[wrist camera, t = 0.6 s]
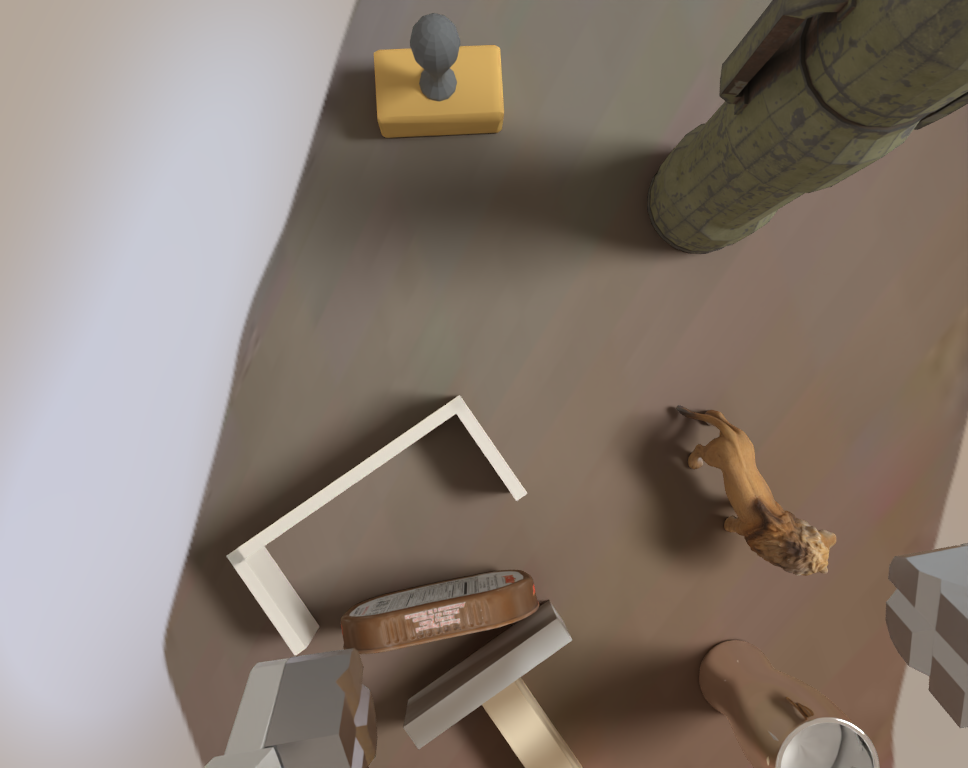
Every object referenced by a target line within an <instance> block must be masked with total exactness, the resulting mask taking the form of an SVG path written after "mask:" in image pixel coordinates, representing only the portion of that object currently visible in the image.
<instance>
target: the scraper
mask: <svg viewBox="0 0 968 768" xmlns="http://www.w3.org/2000/svg"><path fill="white" fill-rule="evenodd" d="M570 641H572V639H571V636H570V634H569V632H568V630H567V628H566V626H565V623H564V621H563V619H562V618H561V617H560V615H559V614H558V612H557V611H556V609H555V608H554V606H553V605H552V603H551V602H550V601H549V600H548V601H547V602H545V603H544V604H543V605H541V606H540V607H539V608H538V609H537V611H536V612H534V613H533V614H531V615H530V616H528V617H526V618H524V619H522V620H520V621H519V622H517V623H516V624H514V625H513V626H511V627H510V628H509V629H507V630H506V631H504V632H503V633H502V634H500V635H499V636H497V637H496V638H494V639H493V640H492V641H490V642H489V643H487V644H486V645H485V646H483V647H482V648H480V649H479V650H477V651H476V652H475V653H473V654H472V655H470V656H469V657H468V658H466V659H465V660H463V661H462V662H461V663H459V664H458V665H456V666H455V667H453V668H452V669H451V670H449V671H448V672H446V673H445V674H444V675H442V676H441V677H439V678H438V679H436V680H435V681H434V682H432V683H431V684H429V685H428V686H427V687H425V688H424V689H422V690H421V691H419V692H418V693H417V694H415V695H414V696H412V697H411V698H410V699H408V703H407V709H406V715H405V720H404V726H403V728H404V729H405V731H406V732H407V734H408V735H409V736H410V738H411V739H412V741H413V742H414V744H415V745H416V747H417V748H418V750H419V749H420V748H421V747H423V746H424V745H426V744H427V743H428V742H430V741H431V740H433V739H434V738H435V737H437V736H438V735H440V734H441V733H442V732H444V731H445V730H447V729H448V728H450V727H451V726H452V725H454V724H455V723H457V722H458V721H459V720H461V719H462V718H464V717H465V716H466V715H468V714H469V713H471V712H472V711H473V710H475V709H476V708H478V707H479V706H480V705H482V706H483V707H484V709H485V710H486V712H487V713H488V714H489V716H490V717H491V719H492V720H493V722H494V723H495V725H496V726H497V728H498V729H499V730H500V732H501V733H502V735H503V736H504V738H505V739H506V741H507V742H508V743H509V745H510V746H511V748H512V749H513V751H514V752H515V754H516V755H517V757H518V758H519V759H520V761H521V762H522V764H523V765H524V767H525V768H583V767H582V766H581V764H580V763H579V761H578V760H577V758H576V757H575V756H574V754H573V753H572V751H571V750H570V748H569V747H568V745H567V744H566V742H565V741H564V740H563V738H562V737H561V735H560V734H559V732H558V731H557V729H556V728H555V727H554V725H553V724H552V722H551V721H550V719H549V718H548V716H547V715H546V713H545V712H544V711H543V709H542V708H541V706H540V705H539V703H538V702H537V700H536V699H535V698H534V696H533V695H532V693H531V692H530V690H529V689H528V687H527V686H526V684H525V683H524V682H523V680H522V679H521V676H523V675H524V674H525V673H527V672H528V671H530V670H531V669H532V668H534V667H535V666H537V665H538V664H539V663H541V662H542V661H544V660H545V659H547V658H548V657H549V656H551V655H552V654H554V653H555V652H556V651H558V650H559V649H561V648H562V647H563V646H565V645H566V644H568V643H569V642H570Z"/></svg>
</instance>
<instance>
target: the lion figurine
mask: <svg viewBox="0 0 968 768" xmlns="http://www.w3.org/2000/svg"><path fill="white" fill-rule="evenodd" d="M676 409H677V410H678V411H679V412H680V413H681V414H682V415H684V416H685V417H689V418H693V419H698V420H702V421H705V422H706V423H707V424H708V425H713V426H715V427H717V428H718V429H719V430H720V433H719V434H720V436H719V437H718V438H715V439H713V440H712V441H711V442H709V443H708V444H707V445H706V446H702V445H701V444H698V445H697V446H696V447H695V449H694V451H693V452H692V453H691V455H690V456H689V459H688V465H689V467H690V468H692V469H698V468H700V467H702V465H703V461H702V459H703V460H704V461H705V462H706V463H707V464H708V465H710V466H714V467H716V468H719V469H721V470H722V472H723V477H724V485H725V491H726V494H727V496H728V499H729V501H730V503H731V505H732V506H733V509H734V511H735V512H736V514H737V516H738V518H736V517H735V516H730V517H729V518H727V519H726V521H725V523H724V527H725V530H727V531H729V532H737V533H738V534H739V535H743V536H745V540H746V542H747V544H748V545H749V546H750V548H751V550H752V551H754V552H756V553H757V554H758V555H759V556H760V557H762V558H764V560H766V561H768V562H770V563H771V564H773V565H775V566H778V567H781V568H782V569H784V570H785V571H786V572H789V573H793V574H795V575H806V576H807V575H810V574H812V573H817V572H821V573H827V572H828V570H827V567H826V566H827V565H828V561H827V559H828V557H829V548H831V547H832V546H833V545H834V544H835V543H836V536H835V534H833V533H830V532H828V531H826V530H819V531H817V530H816V528H815V527H813V526H810V525H809V524H808V523H807V522H806V521H804V520H801V519H797V518H796V517H795V516H794V515H793V514H792V513H790V512H788V511H784V510H783V509H782V507H781V506H780V505H779V504H778V503H777V502H775V501H774V498H773V496H772V493H771V491H770V489H769V487H768V485H767V483H766V482H765V480H764V479H763V477H762V476H761V474H760V473H759V471H758V470H757V467H756V464H755V453H754V446H753V444H752V442H751V441H750V439H749V438H748V437H747V435H746V434H745V433H744V432H743V431H742V430H740V429H739V428H737V427H735V426H733V425H732V424H730V423H729V422H728V421H727V420H726V419H725V418H724V416H723V414H722V413H720V412H718V411H714V410H709V411H707V412H706V413H705V414H700V413H695V412H691V411H689V410H688V409H687V408H684V407H683V406H677V407H676Z"/></svg>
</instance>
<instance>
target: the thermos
mask: <svg viewBox="0 0 968 768" xmlns="http://www.w3.org/2000/svg"><path fill="white" fill-rule="evenodd" d="M720 97H721V98H722V99H724V100H725V102H724V103H723V105H722V106H721V107H720V108H719V109H718V110H717V111H716V112H715V114H714V115H713V116H712V117H711V118H710V119H709V120H708V121H707V123H706V124H701V125H699V126H698V127H697V128H695V129H694V130H692V131H691V132H689V133H688V134H686V135H685V136H684V138H683V139H682V140H681V141H680V142H679V144H678V145H677V146H676V147H675V148H674V149H673V151H672V152H671V153H670V154H669V156H668V157H667V158H666V160H665V161H664V162H663V163H662V165H661V166H660V168H659V171H658V172H657V173H656V175H655V176H654V177H653V179H652V182H651V185H650V188H649V191H648V206H647V209H648V213H649V216H650V219H651V222H652V225H653V227H654V228H655V229H656V231H657V232H658V234H659V235H660V237H661V238H662V239H663V240H665V241H666V242H667V243H669V244H670V245H671V246H673V247H674V248H676V249H679V250H682V251H685V252H687V253H699V254H706V253H709V252H713V251H716V250H720V249H722V248H724V247H725V246H729V245H732V244H734V243H736V242H738V241H740V240H741V239H743V238H745V237H747V236H748V235H750V234H752V233H754V232H755V231H757V230H758V229H759V228H761V227H762V226H764V225H765V224H767V223H768V222H769V221H770V220H771V218H772V217H773V216H774V214H775V213H776V212H777V210H778V209H779V208H781V207H783V206H784V205H786V204H788V203H789V202H791V201H793V200H794V199H796V198H798V197H799V196H801V195H803V194H804V193H811V192H814V191H818V190H821V189H825V188H828V187H832V186H833V185H835V184H837V183H839V182H840V181H842V180H844V179H846V178H847V177H849V176H851V175H853V174H854V173H856V172H858V171H859V170H861V169H863V168H865V167H866V166H868V165H870V164H872V163H873V162H875V161H877V160H879V159H880V158H882V157H884V156H885V155H886V154H888V153H889V152H891V151H892V150H894V149H895V148H897V147H898V146H899V145H901V144H902V143H904V141H905V140H906V139H907V137H908V136H909V135H910V133H911V132H912V131H913V130H918V129H920V128H922V127H925V126H927V125H929V124H931V123H933V122H935V121H937V120H939V119H941V118H943V117H945V116H947V115H949V114H951V113H952V112H954V111H956V110H958V109H959V108H961V107H963V106H964V105H966V104H968V0H773V1H772V2H771V3H770V4H769V6H768V7H767V8H766V10H765V11H764V12H763V13H762V15H761V16H760V17H759V19H758V20H757V21H756V22H755V24H754V25H753V26H752V28H751V29H750V30H749V32H748V33H747V34H746V35H745V37H744V38H743V39H742V41H741V42H740V43H739V44H738V46H737V47H736V48H735V49H734V51H733V52H732V53H731V54H730V56H729V57H728V58H727V59H726V60H725V62H724V63H723V64H722V70H721V78H720Z"/></svg>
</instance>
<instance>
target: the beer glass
mask: <svg viewBox="0 0 968 768" xmlns="http://www.w3.org/2000/svg"><path fill="white" fill-rule="evenodd" d="M699 684H700V688H701V691H702V694H703V696H704V697H705V699H706V700H707V702H708V703H709V704H710V705H711V706H712V707H713V708H715V709H716V710H717V711H719V712H720V713H722V714H724V715H725V716H726V717H727V718H728V720H729V723H730V725H731V728H732V730H733V732H734V735H735V737H736V739H737V741H738V743H739V745H740V747H741V749H742V751H743V753H744V755H745V757H746V758H747V760H748V761H749V762H750V764H751V765H752V767H753V768H880V767H879V760H878V756H877V753H876V750H875V748H874V746H873V744H872V742H871V740H870V739H869V738H868V736H867V735H866V734H865V733H864V732H863V731H862V730H861V729H860V728H858V727H857V726H856V725H855V724H854V723H853V722H852V721H851V719H850V718H849V717H848V716H847V715H846V714H845V713H844V712H843V711H842V710H841V709H840V708H838V707H837V706H836V705H835V704H834V703H833V702H832V701H831V700H829V699H828V698H827V697H826V696H824V695H823V694H822V693H820V692H819V691H818V690H816V689H815V688H813V687H812V686H810V685H808V684H806V683H804V682H803V681H801V680H799V679H797V678H794V677H792V676H790V675H788V674H785V673H783V672H781V671H778V670H776V669H774V668H773V667H772V665H771V663H770V662H769V660H768V659H767V657H766V656H765V654H764V653H763V652H762V651H761V650H760V649H759V648H757V647H756V646H754V645H753V644H751V643H748V642H745V641H740V640H730V641H725V642H722V643H720V644H718V645H716V646H715V647H713V648H712V649H711V650H710V651H709V652H708V653H707V654H706V656H705V657H704V659H703V661H702V663H701V666H700V670H699Z"/></svg>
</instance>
